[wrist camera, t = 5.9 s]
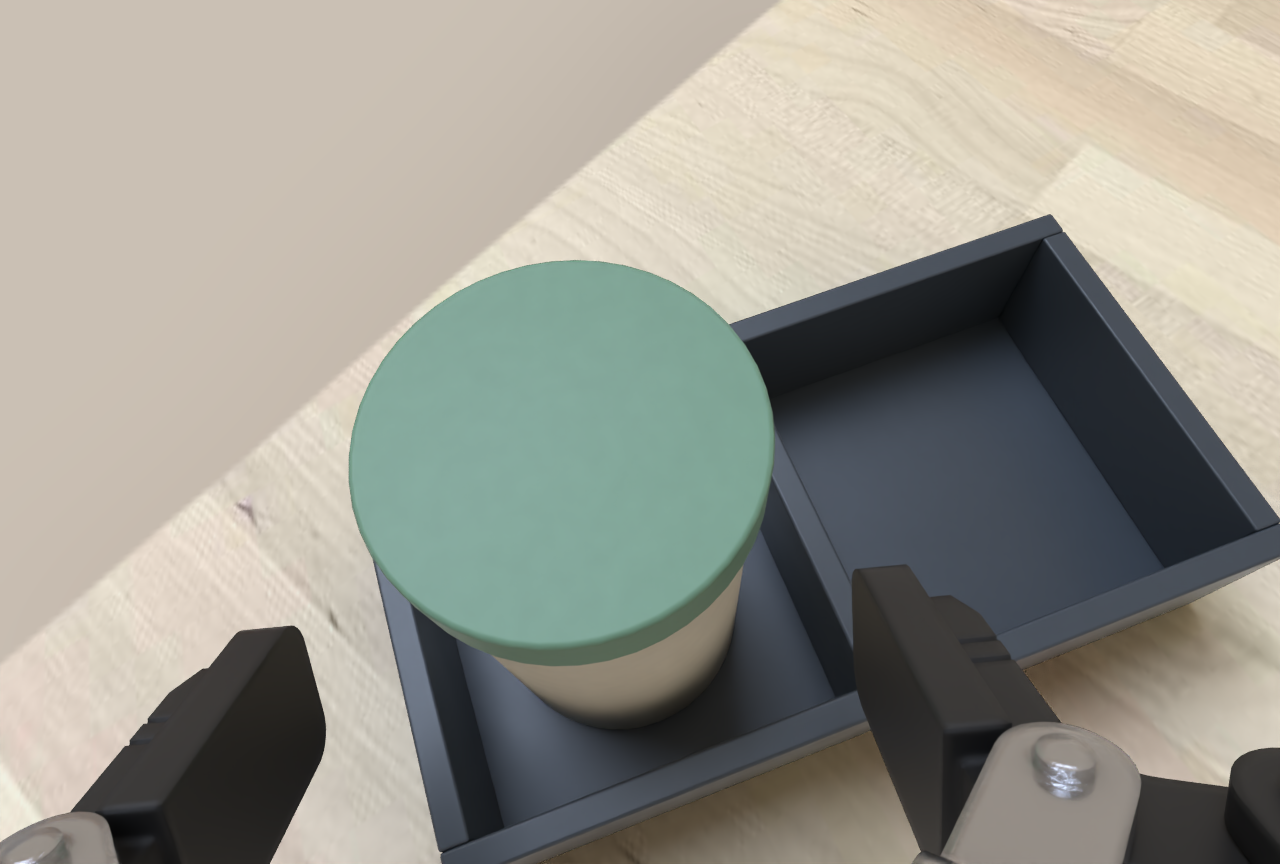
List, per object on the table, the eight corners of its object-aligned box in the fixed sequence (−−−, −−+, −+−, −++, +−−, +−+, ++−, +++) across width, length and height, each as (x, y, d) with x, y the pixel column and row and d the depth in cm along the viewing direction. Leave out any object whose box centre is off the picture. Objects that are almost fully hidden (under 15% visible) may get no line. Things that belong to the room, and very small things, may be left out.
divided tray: (1191, 602, 21) (1303, 547, 17) (497, 879, 19) (446, 888, 15) (996, 310, 25) (1051, 212, 21) (406, 519, 23) (348, 454, 19)
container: (538, 779, 19) (397, 722, 10) (471, 542, 22) (312, 332, 13) (782, 683, 20) (850, 551, 11) (689, 464, 22) (682, 210, 13)
